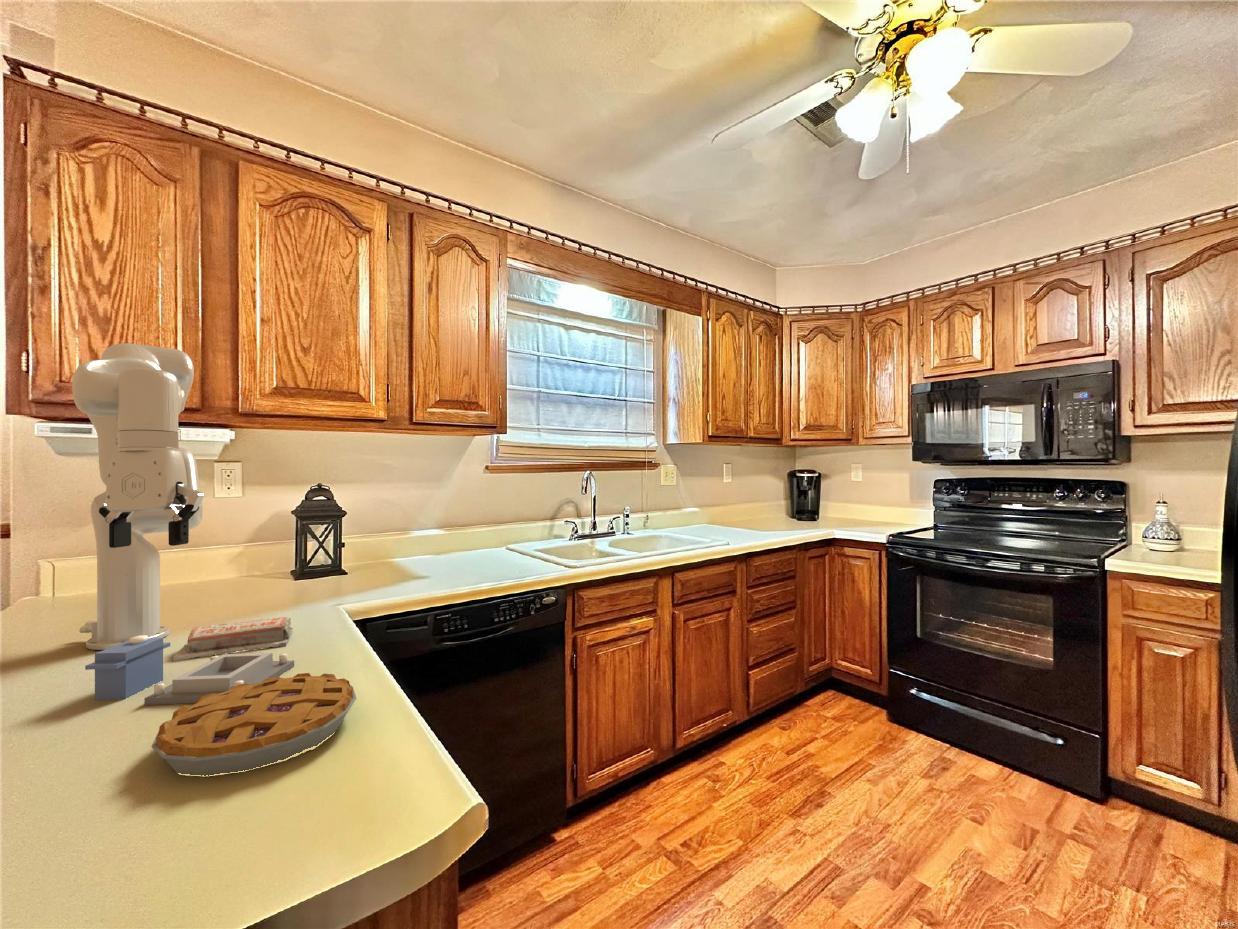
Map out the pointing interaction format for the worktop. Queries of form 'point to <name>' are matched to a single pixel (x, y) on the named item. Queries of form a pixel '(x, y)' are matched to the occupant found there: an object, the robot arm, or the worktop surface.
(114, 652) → the block
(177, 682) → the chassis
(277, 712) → the pie
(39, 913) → the worktop surface
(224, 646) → the packaged product
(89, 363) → the robot arm
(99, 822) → the worktop surface
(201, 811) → the worktop surface
